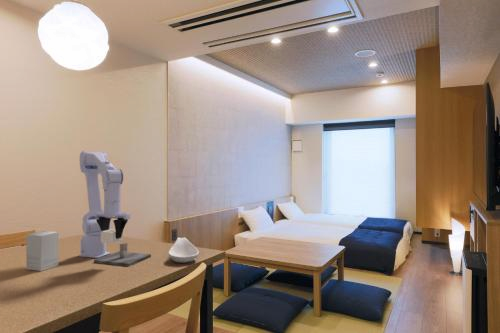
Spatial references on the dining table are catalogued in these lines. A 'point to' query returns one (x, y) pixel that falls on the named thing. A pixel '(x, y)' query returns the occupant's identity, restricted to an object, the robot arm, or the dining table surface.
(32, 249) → the supplement box
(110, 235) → the white hollow block
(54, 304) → the dining table surface
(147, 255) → the post board
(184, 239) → the spoon rest
